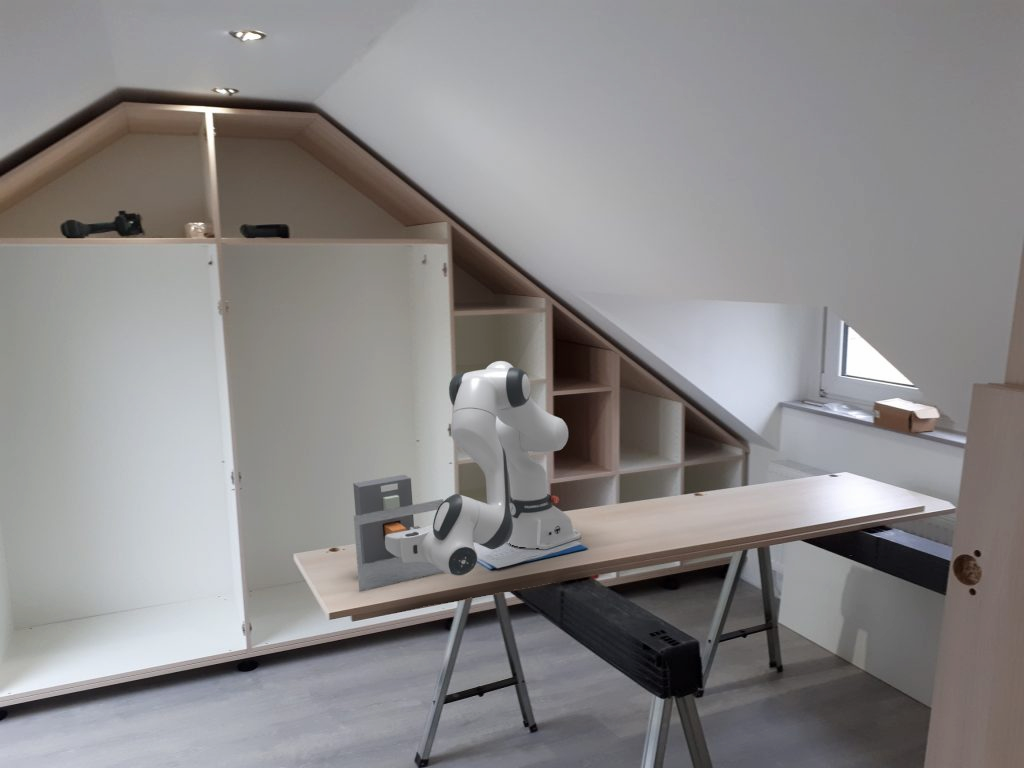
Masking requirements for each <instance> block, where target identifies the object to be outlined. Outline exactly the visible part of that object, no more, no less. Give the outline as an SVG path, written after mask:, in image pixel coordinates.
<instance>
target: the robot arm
mask: <svg viewBox="0 0 1024 768" xmlns="http://www.w3.org/2000/svg"><path fill="white" fill-rule="evenodd" d="M531 390H532V388H531V381H530V377H529V376H528V373H527V372H526V371H525V370H524V369H522V368H520V367H514V366H513V365H512V364H511V362H510V363H509V362H507V361H505V360H504V361H503V360H498V361H493V362H492V363H490V364H489V365H488V366H487V367H486V368H485V369H479V370H472V371H469V372H468V371H462V372H459V373H457V374H454V376H453V377H452V379H451V380H450V382H449V386H448V394H449V399H450V402H451V405H453V409H452V416H451V422H450V434H451V439H452V441H453V442H454V444H455V445H456V446H457V449H459V450H460V451H461V452H463V453H464V454H465V455H467V456H468V457H469V458H470V459H472V460H473V462H475V463H476V464H477V465H478V466H479V468H480V469H481V470H482V472H483V474H484V477H485V486H486V487H485V488H486V502H482V501H481V500H477V499H474V498H471V497H469V496H465V495H463V494H459V493H455V494H452V495H450V496H449V497H447V498H446V499H445V500H443V502H442V503H441V504H440V506H439V508H438V510H436V512H435V515H434V519H433V523H432V524H430V525H427V526H421V525H417V526H414V527H410V530H407V531H402V532H397V533H391V534H387V535H386V536H385V547H386V549H387V551H389V552H390V553H391V554H393V555H394V556H397V557H401V558H402V561H403V562H405V563H408V562H426V563H432V564H434V565H435V566H436V567H438V568H439V569H440V570H442V571H444V572H443V573H446V574H448V575H450V576H455V577H460V576H464V575H467V574H469V573H470V572H471V571H473V570H474V568H475V567H476V565H477V563H478V554H477V551H476V549H475V546H474V543H475V544H477V545H480V546H482V547H483V548H486V549H490V550H496V549H499V548H500V547H502V546H503V545H505V544H506V543H508V542H509V543H510V544H512V545H515V546H520V547H526V548H525V549H536V548H539V549H538V550H549V549H551V548H554V547H558V546H560V545H563V544H567V543H570V542H573V541H575V540H579V539H581V538H582V537H581V533H580V531H579V530H577V529H575V528H574V526H573V522H572V520H571V518H570V516H569V515H568V514H567V513H565V512H564V511H562V510H561V509H559V508H558V507H556V506H555V505H553V503H554V504H557V503H559V501H560V498H559V496H556V495H551V494H549V493H548V485H547V471H546V470H545V468H544V467H543V465H541V464H540V463H539V462H537V461H535V460H534V459H532V457H531V456H530V454H529V453H531V452H532V453H550V452H556V451H561V450H562V449H564V447H565V446H566V444H567V442H568V439H569V429H568V425H567V423H566V422H565V421H564V420H563V418H560V417H558V416H555V415H553V414H551V413H550V412H548V411H546V410H545V409H543V408H542V407H541V406H539V405H538V404H537V403H536V402H535V401H534V400H533V398H532V396H531ZM509 488H510V491H509ZM509 492H510V494H509ZM509 543H508V544H509ZM510 544H509V545H510ZM512 545H511V546H512Z"/></svg>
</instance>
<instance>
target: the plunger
mask: <svg viewBox="0 0 1024 768" xmlns="http://www.w3.org/2000/svg"><path fill="white" fill-rule="evenodd" d="M402 531H406V528H405V527H404V526H402V525H401V524H400V523H398V522H394V523H389V524H384V537H385V536H386V535H387V534H391V533H397V532H402Z"/></svg>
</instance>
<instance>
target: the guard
mask: <svg viewBox="0 0 1024 768" xmlns="http://www.w3.org/2000/svg"><path fill="white" fill-rule="evenodd" d="M443 501H444V499H441V498H440V499H437V500H431V501H425V502H420V503H414V504H413V505H409V506H403V507H398V508H393V509H387V510H382V511H377V512H371V513H366V514H361V515H356V514H355V515H353V527H354V540H355V553H356V565H357V578H358V579H357V580H358V582H357V583H358V589H359V590H358V591H359V592H362V591H367V589H368V590H371V588H372V589H376V588H379V587H384V585H385V586H389V585H393V584H398V583H401V582H405V581H411V580H414V578H415V579H419V578H422V577H423V576H424V577H427V575H428V576H431V575H436V574H441V573H445V572H444V571H442V570H440V569H439V568H438V567H436V566H435V565H434V564H432V563H426V562H408V563H405V562H403V561H402V558H401V557H393V558H389V559H384V560H379V561H375V562H370V563H365V564H362V554H361V541H360V527H359V525H361V524H366V523H371V522H376V521H382V520H387V519H392V518H397V517H402V516H407V515H413V516H414V515H417V514H422V513H423V514H424V513H427V512H428V513H429V512H433V511H437V510H438V508H439V506H440V504H441V503H442V502H443Z"/></svg>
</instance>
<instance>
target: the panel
mask: <svg viewBox="0 0 1024 768" xmlns="http://www.w3.org/2000/svg"><path fill="white" fill-rule="evenodd" d="M352 485H353V497H354V509H355V512H354V513H355V515H361V514H366V513H371V512H377V511H382V510H387V509H393V508H398V507H403V506H409V505H414V504H413V492H412V491H413V489H412V478H411V477H409V476H407V475H406V474H400V475H396V476H390V477H389V476H387V477H383V478H382V477H381V478H378V479H377V478H376V479H372V480H365V481H364V480H363V481H358V482H353V483H352ZM414 519H415V518H414V514H413V515H407V516H402V517H397V518H392V519H387V520H382V521H376V522H371V523H366V524H361V525H359V527H360V541H361V554H362V564H365V563H370V562H375V561H379V560H384V559H389V558H393V557H397V556H394V555H393V554H391V553H390V552H389V551H387V549H386V547H385V537H384V524H389V523H394V522H398V523H400V524H401V525H402V526H404V527H405V528H406V531H407V530H410V527H415V523H414V522H415V520H414Z"/></svg>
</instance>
